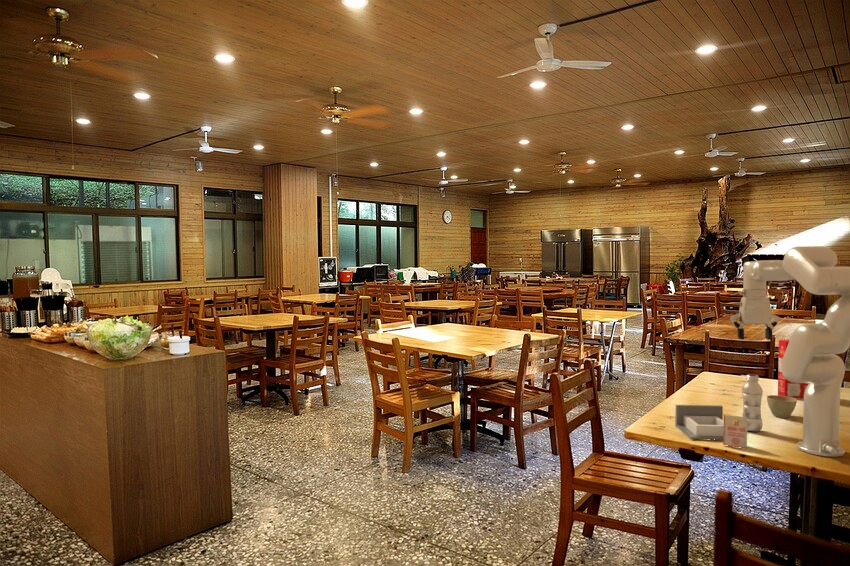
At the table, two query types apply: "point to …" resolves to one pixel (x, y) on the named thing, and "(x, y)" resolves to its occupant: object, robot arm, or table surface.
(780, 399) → the flower pot
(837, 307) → the robot arm
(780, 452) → the table surface
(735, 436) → the beige printed carton
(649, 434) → the table surface
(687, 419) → the housing
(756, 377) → the plastic bottle
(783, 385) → the food packaging
